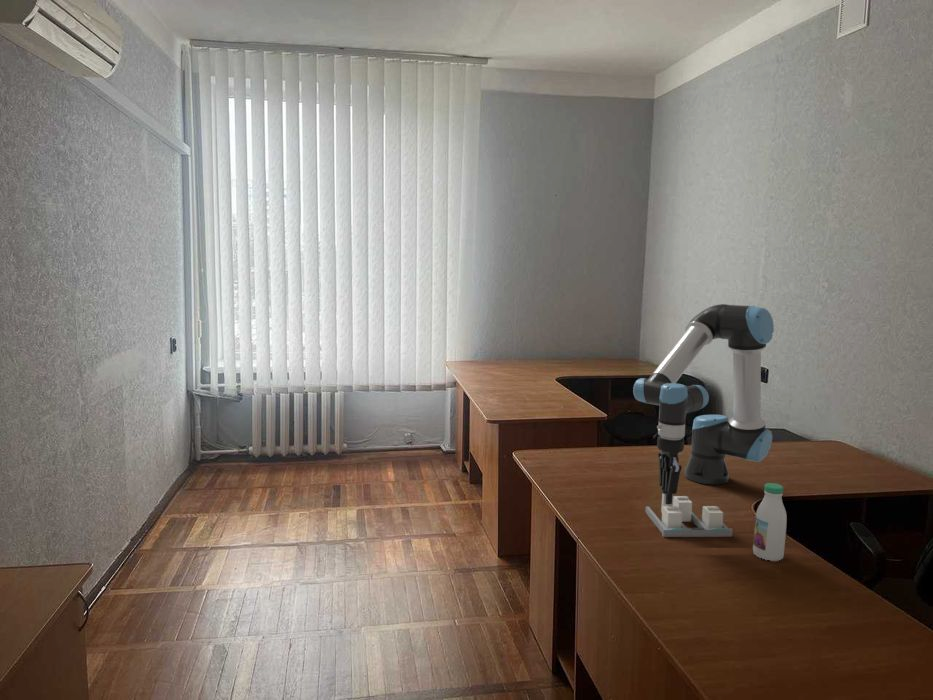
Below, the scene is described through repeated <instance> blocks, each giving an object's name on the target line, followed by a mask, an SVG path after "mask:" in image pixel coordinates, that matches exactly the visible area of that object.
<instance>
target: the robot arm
mask: <svg viewBox="0 0 933 700" xmlns="http://www.w3.org/2000/svg"><path fill="white" fill-rule="evenodd" d="M685 326H686V327H685V331H684V333H683V335H682V336H681V337H680V339H679V340H677V342H676V344H675V345H673V347H672V348H671V349H670V350H669V352H668V353H667V355H666V356H665V357H664V359H663V360H661V362H660V364H659V365H658V366H657V367H656V368H655V370H654V371H653V372H652V373H651V374H650V376H649V377H648V378H646V377H644V378H643V377H640V378H638V379H637V380H635V382H634V384H633V387H632V389H633V390H632V393H633V396H634V399H635V400H636V401H638V402H641V403H644V404H648V405H655V406H659V411H658V425H657V426H656V428H657V434H658V436H657V441H656V442H657V443H656V447H657V449H658V450H660V451H661V452H659V453H658V454H657V456H658V457H657V458H658V465H659V466H658V468H659V470H658V473H659V486H660V487H661V491H662V492H661V508H660V513H662V508H663V506H673V496H674V494H675V495H677V493H678V487H679V480H680V473H681V471H682V465H679V461H680V459H679V453H681V452H683V451H684V448H685V438H684V437H685V436H686V419H687V417H686V416H687V414H689V413H693V412H699V411H700V410H701V409H703V408H705V407H707V405H708V404H709V400H710V395H709V393H708V391H707V389H706V388H705V387H704V386H702V385H700V384H692V385H684V384H681V383H677V382H678V381H679V379H680V378H681V377H682V375H683V374H684V372H686V370H687V369H688V368H689V366H690V365H691V364H692V363H693V361H694V360H695V359H696V357H697V355H699V354H700V352H701V351H702V349H703V348H704V347H705V346H706V345H710V343H711V342H712V341H713V340H716V339H720V340H721V339H722V340H727V343H728V345H727V347H728V348H729V349H730V350H731V351H732V360H733V361H732V364H733V365H732V367H733V368H732V369H733V370H732V371H733V372H732V375H733V377H732V378H733V380H732V382H733V383H732V384H733V387H732V389H733V390H732V393H733V396H732V397H733V400H732V402H733V405H732V406H733V412H732V413H733V416H732V417H731V418H730V419H729V418H728V416H726V415H722V414H703V415H698V416H695V418H694V419H693V423H692V428H691V431H692V432H691V433H692V435H691V450H690V457H689V459H688V461H687V464H686V466H685V468H684V477H685V478H686V479H687V480H690V481H692V482H694V483H699V484H705V485H714V486H715V485H716V486H717V485H724V484H727V483H728V482H729V476H730V475H729V474H730V473H729V470H728V467H727V462H726V456H730V457H733V458H738V459H740V460H745V461H748V462H749V461H751V462H756V463H759V462H762V461H763V460H764V459H765V458H766V456H768V454H769V452H770V450H771V446H772V442H773V432H772V431H771V430H770V429H767V428H766V422H765V420H764V419H763V418H762V417H761V414H762V413H761V410H762V409H761V403H762V402H761V400H762V397H761V396H762V394H761V393H762V386H761V384H762V382H761V380H762V375H761V374H762V372H761V371H762V351H763V350H764V349H766V347H767V344H769V343H770V342H771V341H772V338H773V336H774V335H773V334H774V331H775V330H774V326H775V325H774V319H773V317H772V314H771V312H769V310H768V309H767V308H764V307H759V306H755V305H739V304H738V305H737V304H726V303H723V304H722V303H721V304H720V303H719V304H715V305H712V306H709V307H708V308H705V309H704V310H701V311H700V312H699V313H697V314H696V315H695V316H694V317H693V318H692V319H690V320H689V322H688V323H687V324H686V325H685Z"/></svg>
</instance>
